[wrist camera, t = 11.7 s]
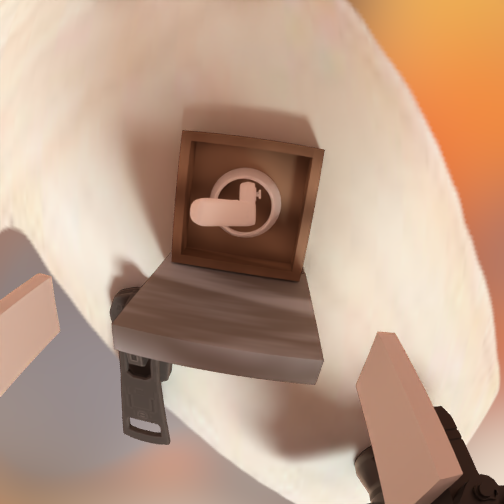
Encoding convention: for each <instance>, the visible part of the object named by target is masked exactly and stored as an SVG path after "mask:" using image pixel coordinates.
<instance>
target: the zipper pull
mask: <svg viewBox="0 0 504 504" xmlns="http://www.w3.org/2000/svg"><path fill="white" fill-rule="evenodd" d="M139 290H140V287H134V288H129V289H123V290H120V292H119V293H118V294H117V295H116V296H115V297H114V300H113V303H112V306H111V309H110V316H111V320H112V323H113V321H114V320H115V319H116V318H117V317H118V315H119V314H120V313H121V312H122V310H123V309H124V308H125V307H126V305H127V304H128V303H129V302H130V301H131V299H132V298H133V297H134V296H135V294H136V293H137V292H138V291H139ZM119 358H120V369H121V397H122V419H123V431H124V434H126V435H129V436H130V437H133V438H135V439H138V440H141V441H145V442H149V443H155V444H165V445H168V444H170V437H169V431H168V425H167V421H166V414H165V408H164V401H163V395H162V388H161V382H163V381H167V380H168V378H169V376H170V373H171V371H172V363H167V362H163V361H158V360H154V359H150V358H146V357H142V356H138V355H134V354H130V353H126V352H122V351H119ZM130 417H131V418H135V419H139V420H143V421H147V422H151V423H155V424H158V425H159V426H160V427H161V433H157V432H151V431H147V430H143V429H139V428H137V427H134V426H132V425H131V424H130Z"/></svg>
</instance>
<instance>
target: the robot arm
mask: <svg viewBox="0 0 504 504" xmlns="http://www.w3.org/2000/svg"><path fill="white" fill-rule="evenodd" d="M59 332H60V326H59V321H58V316H57V310H56V304H55V298H54V292H53V285H52V276H49V275H45V274H41V273H38V274H36V275H35V276H34V277H32V278H31V279H29V280H28V281H26V282H25V283H24V284H22V285H21V286H19V287H18V288H16V289H15V290H14V291H12V292H11V293H10V294H8V295H7V296H5V297H4V298H3V299H1V300H0V397H1V396H2V395H3V393H4V392H5V391H6V390H7V389H8V387H9V386H10V385H11V384H12V383H13V382H14V381H15V379H16V378H17V377H18V376H19V375H20V374H21V373H22V372H23V371H24V369H25V368H26V367H27V366H28V365H29V364H30V363H31V362H32V361H33V360H34V358H35V357H36V356H37V355H38V354H39V353H40V352H41V351H42V350H43V349H44V348H45V347H46V346H47V344H48V343H49V342H50V341H51V340H52V339H53V338H54V337H55V336H56V335H57V334H58V333H59ZM356 388H357V392H358V395H359V399H360V402H361V406H362V410H363V414H364V417H365V421H366V425H367V429H368V433H369V437H370V441H371V445H372V446H371V447H369V448H368V449H366V450H365V451H364V452H363V453H361V454H360V455H359V457H358V458H357V460H356V462H355V469H356V474H357V476H358V478H359V479H360V481H361V482H362V484H363V486H364V487H365V489H366V490H367V492H368V493H369V496H370V501H371V503H369V504H504V486H499V485H498V484H497V483H496V482H495V480H494V479H492V478H491V477H489V476H487V475H482V474H480V475H479V473H478V472H477V470H476V468H475V465H474V463H473V461H472V458H471V456H470V454H469V452H468V450H467V447H466V445H465V443H464V441H463V439H461V435H460V433H459V431H458V430H457V427H456V425H455V423H454V421H453V419H452V417H451V415H450V414H449V413H448V412H447V411H446V410H445V409H444V408H443V407H442V406H438V407H433V405H432V403H431V401H430V399H429V397H428V395H427V393H426V391H425V389H424V387H423V385H422V383H421V381H420V379H419V377H418V375H417V373H416V371H415V369H414V367H413V365H412V363H411V362H410V360H409V358H408V356H407V354H406V352H405V350H404V348H403V347H402V345H401V343H400V341H399V339H398V337H397V336H396V334H395V333H389V332H377V335H376V337H375V340H374V342H373V345H372V347H371V350H370V352H369V355H368V357H367V360H366V362H365V365H364V367H363V369H362V372H361V374H360V376H359V379H358V381H357V383H356Z"/></svg>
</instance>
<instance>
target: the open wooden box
mask: <svg viewBox="0 0 504 504" xmlns="http://www.w3.org/2000/svg"><path fill="white" fill-rule="evenodd" d="M324 151H325V150H323V149H318V148H313V147H308V146H302V145H296V144H290V143H284V142H278V141H271V140H265V139H258V138H250V137H243V136H235V135H226V134H217V133H207V132H196V131H184V130H183V131H182V139H181V147H180V156H179V166H178V176H177V186H176V198H175V210H174V224H173V239H172V253H170V254H169V256H168V257H167V258H166V259H165V260H164V261H163V262H162V264H161V265H160V266H159V267H158V268H157V269H156V271H155V272H154V273H153V274H152V275H151V277H150V278H149V279H148V280H147V281H146V282H145V284H144V285H143V286H142V287H141V288H140V290H139V291H138V292H137V293H136V294H135V296H134V297H133V298H132V299H131V301H130V302H129V303H128V304H127V305H126V307H125V308H124V309H123V310H122V312H121V313H120V314H119V315H118V317H117V318H116V319H115V320H114V321H113V323H112V333H113V342H114V349H115V350H118V351H122V352H126V353H130V354H134V355H138V356H142V357H146V358H150V359H154V360H158V361H163V362H167V363H172V364H177V365H181V366H186V367H191V368H196V369H202V370H207V371H213V372H218V373H224V374H231V375H237V376H243V377H250V378H258V379H265V380H273V381H282V382H291V383H301V384H312V385H315V384H316V382H317V379H318V376H319V373H320V370H321V367H322V365H323V362H324V359H323V354H322V349H321V344H320V339H319V334H318V329H317V324H316V320H315V315H314V310H313V306H312V301H311V296H310V292H309V287H308V283H307V279H306V274H304V273H301V272H302V267H303V263H304V258H305V253H306V248H307V243H308V238H309V233H310V228H311V223H312V218H313V213H314V207H315V202H316V197H317V191H318V186H319V180H320V174H321V168H322V163H323V157H324ZM237 168H253V169H256V170H259V171H261V172H263V173H265V174H266V175H267V176H269V177H270V178H271V179H272V180H273V182H274V183H275V184H276V186H277V188H278V190H279V193H280V196H281V210H280V213H279V216H278V218H277V220H276V222H275V224H274V225H273V226H272V227H271V228H270V229H269V230H267V231H266V232H265V233H263V234H261V235H259V236H255V237H249V238H242V237H237V236H233V235H231V234H229V233H227V232H225V231H224V230H223V229H222V228H220V226H200V225H198V224H196V223H194V222H193V221H192V219H191V217H190V208H191V204H192V203H193V201H195V200H197V199H200V198H210V195H211V191H212V189H213V187H214V185H215V183H216V182H217V181H218V179H219V178H220V177H221V176H223V175H224V174H225V173H227V172H229V171H231V170H234V169H237ZM244 182H252V183H255V187H256V192H258V191H259V190H261V199H259V198H258V197H256V201H255V204H256V222H255V225H251V226H228V227H229V228H231V229H233V230H235V231H239V232H251V231H255V230H257V229H259V228H260V227H261V226H263V225H264V224H265V223H266V221H267V220H268V218H269V216H270V213H271V207H272V206H271V199H270V196H269V194H268V192H267V191H266V189H265V188H264V187H263V186H262V185H261V184H259V183H258V182H256V181H253V180H250V179H237V180H234V181H232V182H230V183H228V184H227V185H226V186H225V187H224V188H223V189H222V190H221V192H220V194H219V196H218V199H226V200H238V201H239V194H240V184H241V183H244Z"/></svg>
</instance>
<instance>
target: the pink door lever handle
mask: <svg viewBox="0 0 504 504" xmlns="http://www.w3.org/2000/svg"><path fill="white" fill-rule="evenodd" d="M237 179H250V180H253V181H256V182H258V183H259V184H261V185H262V186H263V187H264V188H265V189H266V191H267V192H268V194H269V196H270V199H271V206H272V207H271V213H270V216H269V218H268V220H267V221H266V223H265V224H264V225H263V226H261V227H260V228H259V229H257V230H255V231H251V232H239V231H235V230H233V229H231V228H229V227H228V226H251V225H255V222H256V204H255V201H256V197H258V198H259V199H261V190H259V191H258V192H256V187H255V183H252V182H244V183H241V184H240V194H239V201H238V200H226V199H218V196H219V194H220V192H221V190H222V189H223V188H224V187H225V186H226V185H227V184H228V183H230V182H232V181H234V180H237ZM280 210H281V196H280V193H279V190H278V188H277V186H276V184H275V183H274V182H273V180H272V179H271V178H270V177H269V176H267V175H266V174H265V173H263V172H261V171H259V170H256V169H253V168H237V169H234V170H231V171H229V172H227V173H225V174H224V175H223V176H221V177H220V178H219V179H218V181H217V182H216V183H215V185H214V187H213V189H212V191H211V195H210V198H200V199H197V200H195V201H193V203H192V204H191V208H190V217H191V219H192V221H193V222H194V223H196V224H198V225H200V226H220V228H222V229H223V230H224V231H225V232H227V233H229V234H231V235H233V236H237V237H242V238H249V237H255V236H259V235H261V234H263V233H265V232H266V231H267V230H269V229H270V228H271V227H272V226H273V225H274V224H275V222H276V220H277V218H278V216H279V213H280Z"/></svg>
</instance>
